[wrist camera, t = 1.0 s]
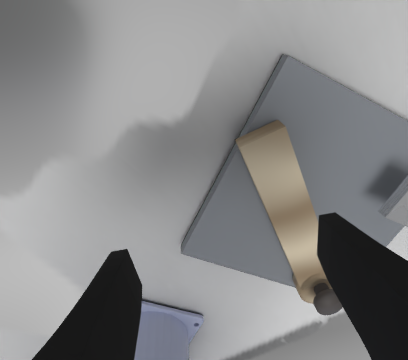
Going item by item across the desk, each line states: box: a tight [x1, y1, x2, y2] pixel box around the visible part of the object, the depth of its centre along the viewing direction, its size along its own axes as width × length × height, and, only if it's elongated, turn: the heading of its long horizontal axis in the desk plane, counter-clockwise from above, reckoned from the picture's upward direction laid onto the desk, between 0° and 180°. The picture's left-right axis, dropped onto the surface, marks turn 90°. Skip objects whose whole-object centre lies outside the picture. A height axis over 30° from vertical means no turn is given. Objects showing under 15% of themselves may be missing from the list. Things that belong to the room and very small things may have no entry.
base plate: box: [181, 54, 408, 288], centre depth 23 cm, size 16×16×1 cm
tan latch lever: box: [235, 120, 343, 315], centre depth 22 cm, size 16×4×3 cm, turn 25°
